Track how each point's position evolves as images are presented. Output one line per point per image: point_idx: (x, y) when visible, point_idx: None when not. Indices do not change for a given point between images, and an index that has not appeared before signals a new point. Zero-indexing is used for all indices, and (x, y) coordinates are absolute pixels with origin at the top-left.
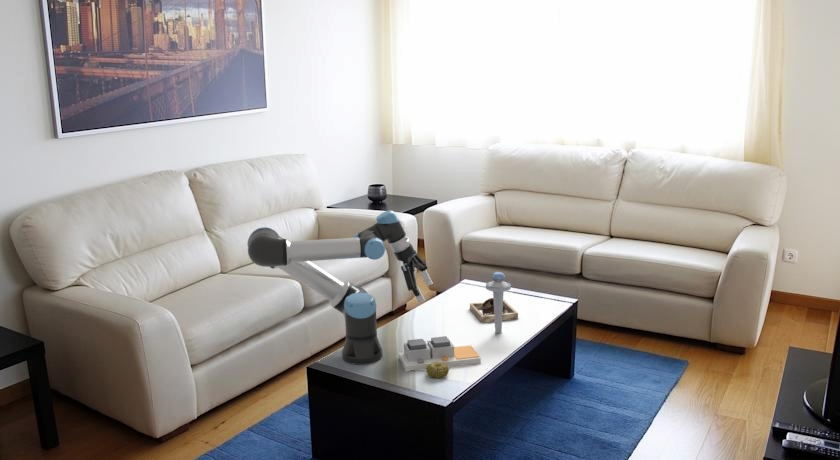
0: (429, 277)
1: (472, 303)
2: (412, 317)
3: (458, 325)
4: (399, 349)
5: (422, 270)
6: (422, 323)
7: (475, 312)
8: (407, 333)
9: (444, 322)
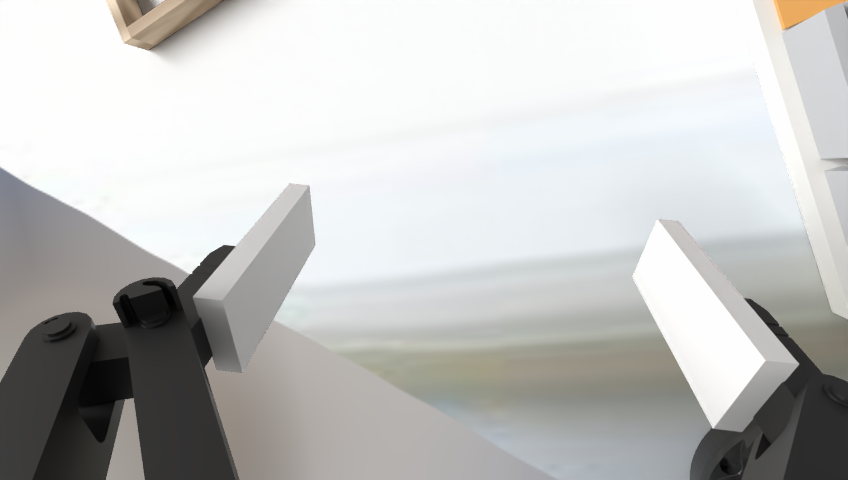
0: (267, 226)
1: (120, 29)
2: None
3: (346, 66)
4: None
5: (204, 346)
6: (340, 241)
7: (202, 1)
8: (469, 297)
9: (317, 142)
